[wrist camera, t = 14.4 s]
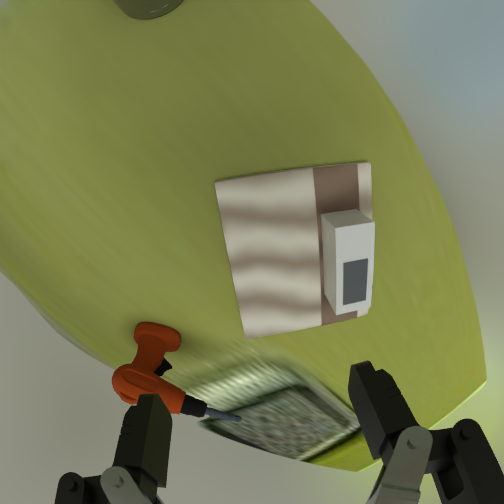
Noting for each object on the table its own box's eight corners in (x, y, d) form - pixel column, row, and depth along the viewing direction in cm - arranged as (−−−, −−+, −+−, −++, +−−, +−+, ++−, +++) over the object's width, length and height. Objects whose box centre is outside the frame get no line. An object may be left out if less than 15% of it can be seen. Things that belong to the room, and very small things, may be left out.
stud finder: (320, 213, 36) (335, 228, 31) (356, 208, 36) (375, 222, 31) (324, 293, 41) (336, 316, 36) (355, 286, 41) (371, 307, 36)
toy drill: (242, 371, 46) (234, 444, 32) (136, 335, 44) (100, 399, 30) (251, 351, 44) (245, 427, 30) (139, 314, 43) (98, 378, 29)
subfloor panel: (214, 181, 35) (214, 182, 33) (366, 161, 35) (370, 162, 34) (245, 334, 44) (245, 339, 43) (364, 310, 45) (368, 314, 43)
